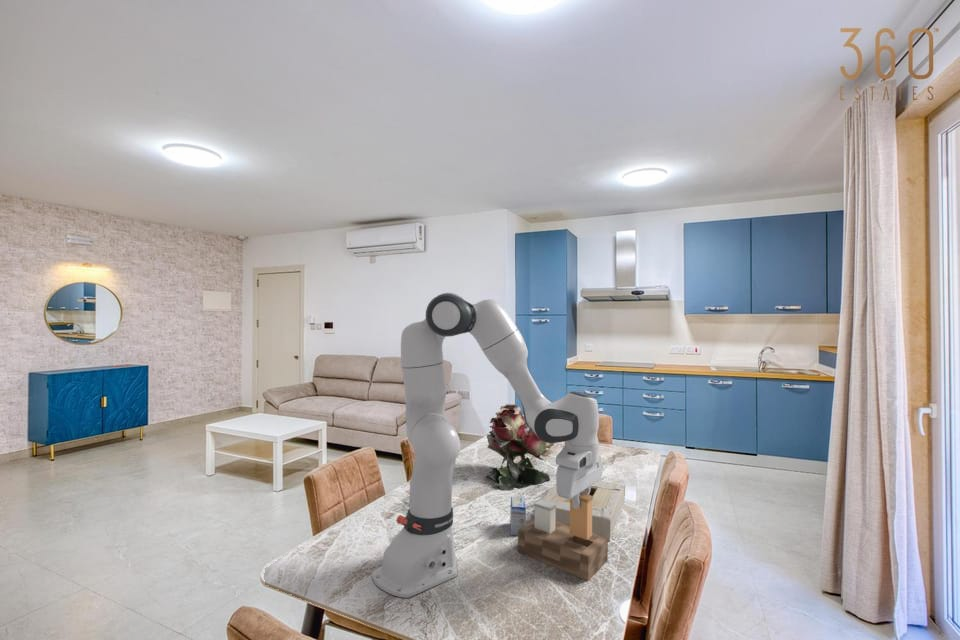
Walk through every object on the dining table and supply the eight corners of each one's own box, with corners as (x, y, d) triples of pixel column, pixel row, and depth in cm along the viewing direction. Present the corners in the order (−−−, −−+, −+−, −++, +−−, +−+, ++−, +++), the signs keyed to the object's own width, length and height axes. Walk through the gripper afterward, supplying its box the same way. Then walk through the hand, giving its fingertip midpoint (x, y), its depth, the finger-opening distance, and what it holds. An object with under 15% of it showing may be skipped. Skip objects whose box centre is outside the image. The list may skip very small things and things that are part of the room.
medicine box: (510, 523, 138) (510, 496, 138) (524, 523, 138) (524, 496, 138) (511, 535, 130) (511, 506, 130) (526, 536, 130) (526, 507, 130)
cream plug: (549, 546, 120) (550, 508, 120) (533, 540, 123) (534, 503, 123) (555, 542, 122) (556, 504, 122) (539, 536, 125) (540, 499, 125)
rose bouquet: (561, 478, 179) (561, 406, 179) (505, 493, 163) (506, 413, 163) (520, 461, 200) (521, 396, 201) (468, 473, 184) (469, 402, 184)
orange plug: (587, 540, 113) (587, 499, 113) (569, 533, 116) (569, 494, 116) (592, 535, 115) (592, 496, 115) (574, 529, 118) (575, 491, 119)
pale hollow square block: (612, 544, 127) (625, 503, 156) (611, 517, 127) (625, 481, 156) (535, 528, 137) (561, 492, 166) (535, 504, 137) (561, 472, 166)
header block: (588, 580, 108) (588, 556, 108) (517, 551, 121) (518, 530, 121) (607, 560, 117) (607, 538, 117) (540, 535, 130) (540, 515, 130)
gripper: (587, 442, 126) (586, 490, 126) (552, 459, 110) (551, 513, 110) (608, 447, 122) (607, 496, 122) (574, 464, 106) (573, 521, 106)
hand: (580, 504), depth 116 cm, fingers closed on orange plug, 3 cm apart
